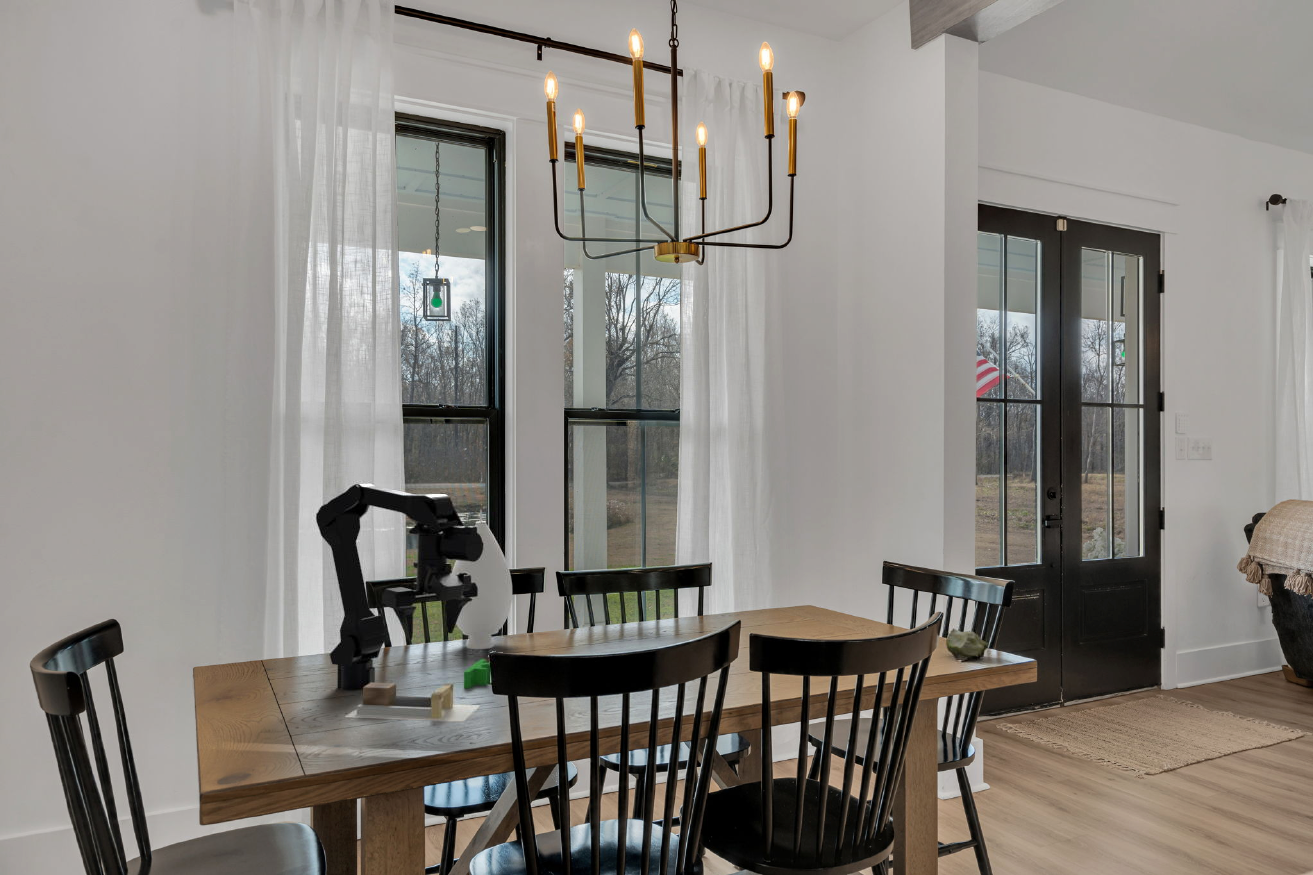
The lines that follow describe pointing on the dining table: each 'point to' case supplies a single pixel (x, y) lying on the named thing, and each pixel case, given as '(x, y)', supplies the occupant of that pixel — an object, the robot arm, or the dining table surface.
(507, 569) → the lamp
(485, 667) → the pipe clamp
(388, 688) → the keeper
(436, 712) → the channel board
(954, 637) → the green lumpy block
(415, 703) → the rod
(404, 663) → the dining table surface
